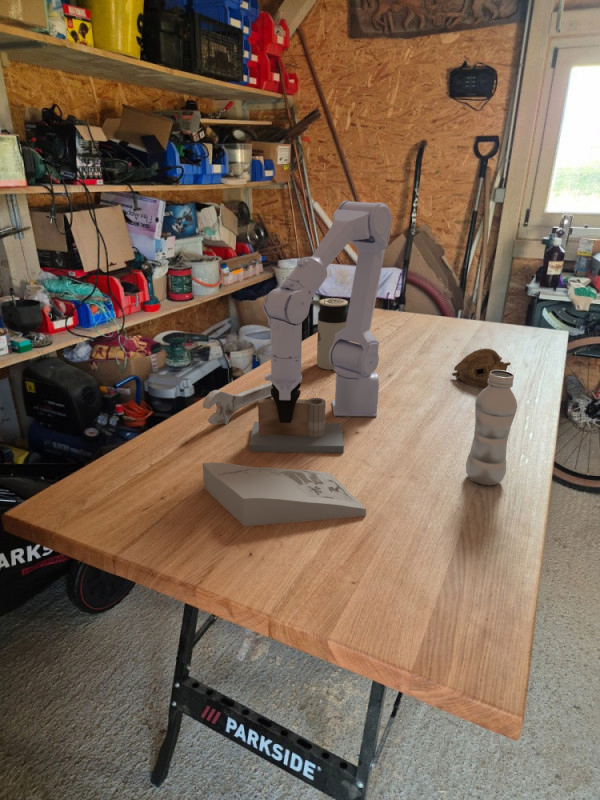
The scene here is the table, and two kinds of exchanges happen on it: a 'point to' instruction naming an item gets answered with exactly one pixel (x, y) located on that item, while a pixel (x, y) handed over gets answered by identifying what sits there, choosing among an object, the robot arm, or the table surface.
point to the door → (293, 418)
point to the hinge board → (299, 441)
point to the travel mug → (329, 328)
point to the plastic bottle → (492, 429)
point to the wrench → (233, 402)
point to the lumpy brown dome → (479, 367)
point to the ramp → (278, 494)
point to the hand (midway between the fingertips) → (285, 419)
